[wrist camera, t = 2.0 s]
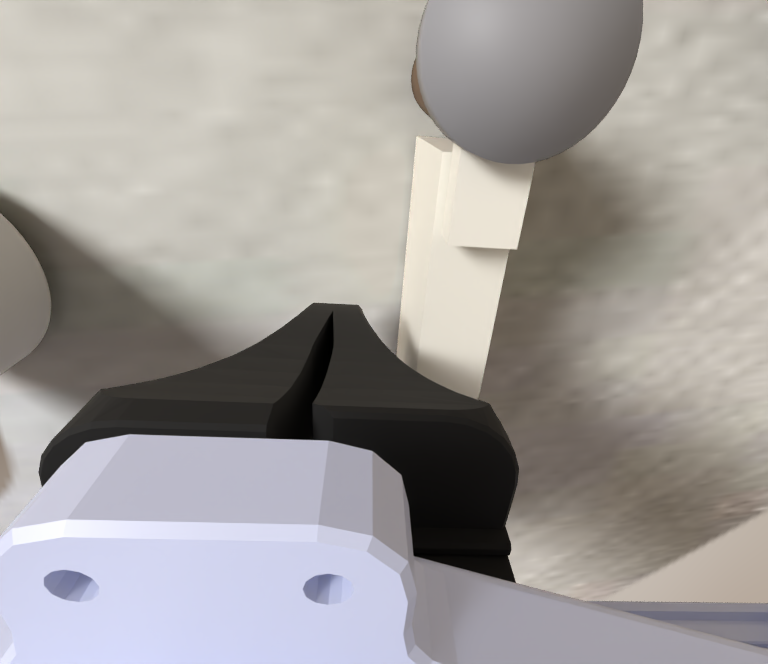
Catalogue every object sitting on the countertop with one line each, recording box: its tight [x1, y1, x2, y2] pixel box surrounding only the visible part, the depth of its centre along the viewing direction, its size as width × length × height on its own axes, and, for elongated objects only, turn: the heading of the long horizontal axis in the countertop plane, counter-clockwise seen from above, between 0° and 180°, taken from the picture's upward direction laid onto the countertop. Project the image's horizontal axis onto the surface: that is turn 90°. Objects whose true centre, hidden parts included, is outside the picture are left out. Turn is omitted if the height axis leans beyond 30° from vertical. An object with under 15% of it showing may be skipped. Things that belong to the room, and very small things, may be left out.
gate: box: [396, 0, 643, 400], centre depth 10 cm, size 12×3×6 cm, turn 176°
